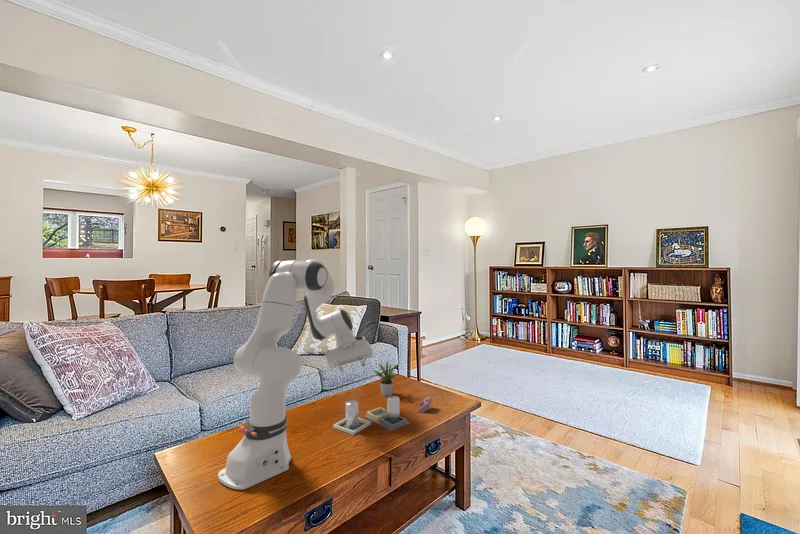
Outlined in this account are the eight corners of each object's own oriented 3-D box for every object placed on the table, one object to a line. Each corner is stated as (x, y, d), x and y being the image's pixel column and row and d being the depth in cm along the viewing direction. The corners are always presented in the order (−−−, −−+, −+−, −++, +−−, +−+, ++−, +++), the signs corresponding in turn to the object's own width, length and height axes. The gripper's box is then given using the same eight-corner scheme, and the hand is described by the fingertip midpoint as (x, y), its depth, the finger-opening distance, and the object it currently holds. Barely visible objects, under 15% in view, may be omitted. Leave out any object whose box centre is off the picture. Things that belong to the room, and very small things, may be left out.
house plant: (392, 386, 193) (392, 355, 192) (408, 394, 181) (407, 361, 181) (369, 392, 185) (368, 360, 184) (383, 401, 173) (383, 366, 173)
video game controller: (425, 419, 157) (432, 405, 156) (415, 413, 158) (422, 399, 157) (427, 409, 167) (434, 396, 166) (419, 404, 167) (425, 391, 167)
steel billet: (352, 431, 141) (352, 406, 141) (343, 428, 144) (342, 403, 144) (361, 426, 146) (360, 402, 145) (351, 423, 148) (351, 399, 148)
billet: (395, 426, 144) (394, 401, 144) (384, 423, 147) (384, 399, 146) (402, 421, 148) (401, 397, 148) (391, 419, 151) (391, 395, 151)
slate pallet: (410, 425, 147) (410, 419, 147) (391, 433, 141) (391, 426, 141) (382, 411, 161) (382, 405, 161) (363, 418, 154) (363, 412, 154)
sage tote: (353, 438, 138) (353, 431, 138) (332, 430, 143) (332, 425, 143) (370, 427, 146) (370, 421, 146) (350, 420, 152) (350, 415, 152)
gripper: (323, 346, 161) (327, 369, 150) (367, 335, 166) (375, 356, 155) (325, 357, 165) (329, 379, 153) (369, 345, 169) (376, 366, 158)
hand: (353, 368), depth 154 cm, fingers open, 8 cm apart
